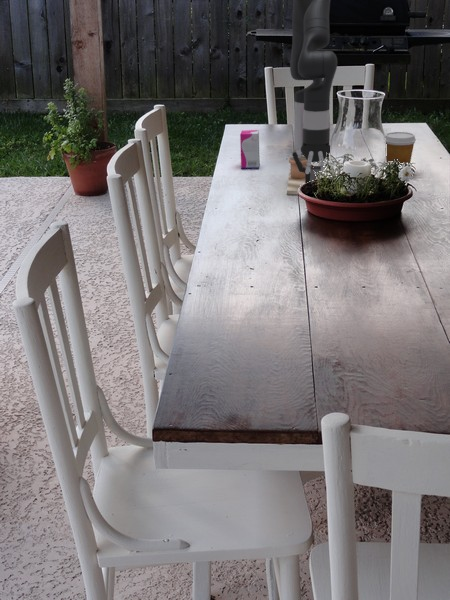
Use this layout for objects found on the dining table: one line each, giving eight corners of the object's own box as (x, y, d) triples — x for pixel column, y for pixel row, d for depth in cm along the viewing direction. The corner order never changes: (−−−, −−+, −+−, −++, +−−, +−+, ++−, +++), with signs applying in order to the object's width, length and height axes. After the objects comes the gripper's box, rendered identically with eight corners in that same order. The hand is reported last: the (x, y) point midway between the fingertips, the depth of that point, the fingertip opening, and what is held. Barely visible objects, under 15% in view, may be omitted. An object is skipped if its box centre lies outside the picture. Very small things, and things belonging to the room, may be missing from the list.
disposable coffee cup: (414, 170, 247) (417, 132, 242) (412, 178, 239) (415, 139, 234) (383, 169, 250) (385, 131, 245) (380, 177, 241) (382, 138, 236)
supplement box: (259, 164, 259) (259, 129, 254) (258, 169, 254) (258, 133, 249) (242, 164, 260) (241, 129, 255) (240, 169, 254) (240, 133, 250)
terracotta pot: (289, 174, 243) (289, 155, 241) (309, 174, 242) (309, 155, 240) (288, 179, 237) (288, 160, 235) (308, 179, 237) (308, 160, 234)
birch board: (289, 172, 249) (290, 150, 246) (322, 172, 248) (322, 150, 245) (286, 194, 227) (286, 170, 224) (322, 194, 226) (322, 170, 223)
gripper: (341, 122, 224) (339, 182, 231) (291, 123, 225) (291, 182, 232) (342, 128, 217) (340, 189, 224) (290, 128, 218) (290, 189, 226)
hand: (315, 185), depth 228 cm, fingers closed on birch board, 3 cm apart
